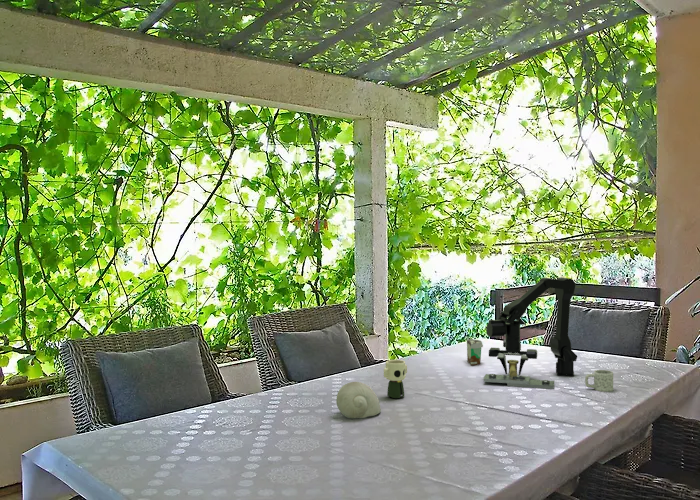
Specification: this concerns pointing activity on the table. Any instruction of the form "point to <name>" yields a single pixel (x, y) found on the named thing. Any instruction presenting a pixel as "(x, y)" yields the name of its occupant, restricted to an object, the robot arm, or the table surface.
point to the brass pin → (513, 367)
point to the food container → (474, 352)
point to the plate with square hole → (519, 381)
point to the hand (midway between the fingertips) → (513, 374)
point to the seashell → (357, 401)
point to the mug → (601, 380)
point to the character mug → (395, 377)
